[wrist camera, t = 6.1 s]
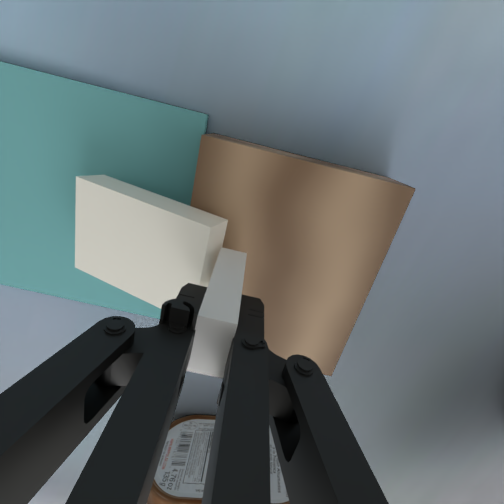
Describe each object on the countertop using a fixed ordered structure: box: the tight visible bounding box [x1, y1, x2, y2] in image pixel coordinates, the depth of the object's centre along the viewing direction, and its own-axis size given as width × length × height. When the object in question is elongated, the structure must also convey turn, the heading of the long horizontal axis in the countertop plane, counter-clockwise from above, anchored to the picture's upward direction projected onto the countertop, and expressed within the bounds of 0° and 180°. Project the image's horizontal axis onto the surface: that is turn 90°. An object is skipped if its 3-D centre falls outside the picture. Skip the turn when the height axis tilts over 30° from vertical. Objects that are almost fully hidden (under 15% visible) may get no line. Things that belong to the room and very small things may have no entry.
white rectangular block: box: [75, 175, 228, 309], centre depth 18 cm, size 9×6×2 cm, turn 77°
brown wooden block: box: [190, 133, 415, 376], centre depth 21 cm, size 12×14×4 cm
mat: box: [0, 61, 209, 319], centre depth 21 cm, size 18×16×1 cm
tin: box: [147, 415, 290, 504], centre depth 26 cm, size 15×3×8 cm, turn 88°
